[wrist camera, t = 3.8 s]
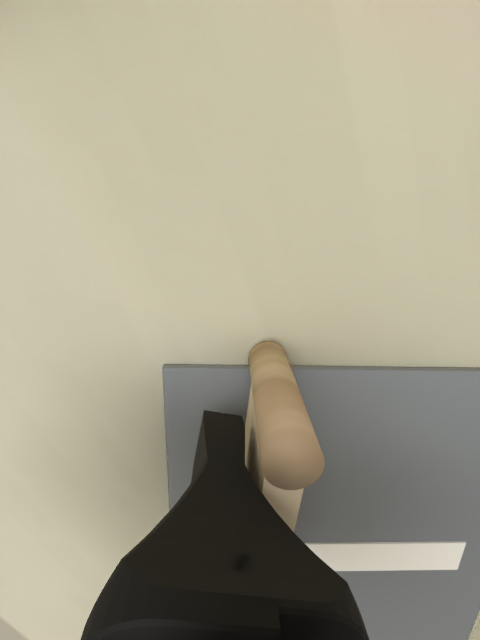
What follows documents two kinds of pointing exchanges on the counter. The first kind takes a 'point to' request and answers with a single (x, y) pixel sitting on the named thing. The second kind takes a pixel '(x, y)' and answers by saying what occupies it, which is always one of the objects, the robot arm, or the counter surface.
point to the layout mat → (371, 483)
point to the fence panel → (279, 433)
